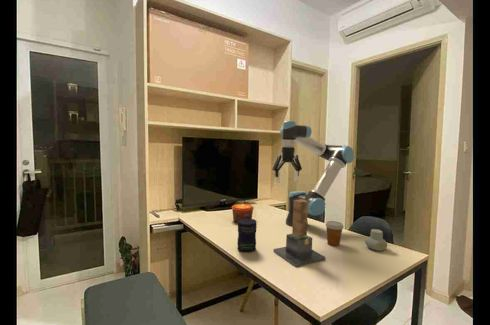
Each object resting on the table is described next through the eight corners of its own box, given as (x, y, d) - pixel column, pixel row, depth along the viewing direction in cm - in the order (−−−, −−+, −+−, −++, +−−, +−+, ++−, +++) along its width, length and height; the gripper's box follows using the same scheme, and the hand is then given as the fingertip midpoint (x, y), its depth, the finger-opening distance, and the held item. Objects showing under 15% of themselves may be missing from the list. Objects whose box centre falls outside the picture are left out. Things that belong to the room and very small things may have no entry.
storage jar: (254, 253, 131) (255, 224, 130) (235, 251, 132) (236, 223, 131) (257, 246, 140) (257, 219, 139) (239, 244, 142) (239, 217, 141)
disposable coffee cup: (342, 242, 149) (343, 222, 148) (342, 248, 140) (343, 227, 139) (324, 240, 152) (325, 220, 151) (324, 246, 143) (325, 224, 142)
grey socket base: (301, 246, 142) (301, 228, 141) (325, 259, 126) (326, 239, 125) (273, 251, 133) (274, 232, 133) (295, 267, 117) (296, 245, 117)
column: (299, 237, 132) (301, 199, 131) (306, 241, 128) (308, 201, 126) (291, 239, 130) (293, 200, 129) (298, 242, 125) (300, 202, 124)
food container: (226, 221, 183) (227, 206, 182) (239, 216, 196) (239, 202, 196) (245, 225, 174) (245, 210, 174) (257, 220, 188) (258, 205, 187)
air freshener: (379, 245, 146) (380, 228, 145) (390, 251, 138) (391, 233, 137) (361, 246, 144) (363, 228, 144) (371, 252, 136) (372, 233, 135)
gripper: (274, 146, 147) (273, 183, 148) (308, 147, 158) (307, 181, 160) (267, 146, 153) (266, 181, 155) (300, 147, 165) (299, 180, 166)
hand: (287, 181), depth 157 cm, fingers open, 13 cm apart
